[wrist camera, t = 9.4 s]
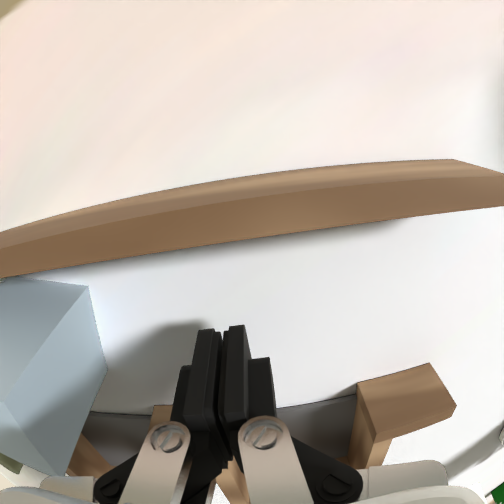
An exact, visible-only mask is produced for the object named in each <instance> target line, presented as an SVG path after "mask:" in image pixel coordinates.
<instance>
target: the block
mask: <svg viewBox="0 0 504 504" xmlns="http://www.w3.org/2000/svg"><path fill="white" fill-rule="evenodd" d="M107 371H108V368H107V365H106V361H105V357H104V354H103V350H102V346H101V342H100V338H99V334H98V330H97V325H96V321H95V316H94V312H93V307H92V302H91V297H90V291H89V286H84V285H76V284H68V283H60V282H52V281H45V280H38V279H31V278H24V277H17V276H11V277H7V278H6V279H5V280H4V281H2V282H1V283H0V453H2V454H4V455H6V456H8V457H10V458H12V459H14V460H16V461H18V462H20V463H22V464H24V465H26V466H29V467H31V468H33V469H35V470H38V471H40V472H42V473H45V474H47V475H50V476H65V473H66V470H67V468H68V465H69V462H70V459H71V457H72V454H73V451H74V449H75V446H76V444H77V441H78V438H79V436H80V433H81V431H82V428H83V426H84V424H85V421H86V419H87V416H88V414H89V411H90V409H91V407H92V404H93V402H94V400H95V397H96V395H97V393H98V391H99V388H100V386H101V384H102V382H103V379H104V377H105V375H106V373H107Z"/></svg>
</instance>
